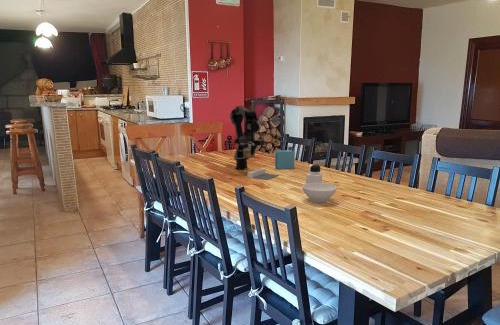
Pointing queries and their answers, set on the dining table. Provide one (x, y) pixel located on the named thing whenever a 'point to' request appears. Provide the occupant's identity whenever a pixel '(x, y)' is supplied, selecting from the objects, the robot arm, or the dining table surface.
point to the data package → (284, 159)
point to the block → (247, 153)
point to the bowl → (319, 191)
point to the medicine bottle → (314, 174)
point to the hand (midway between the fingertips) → (249, 155)
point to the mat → (265, 176)
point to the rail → (256, 172)
